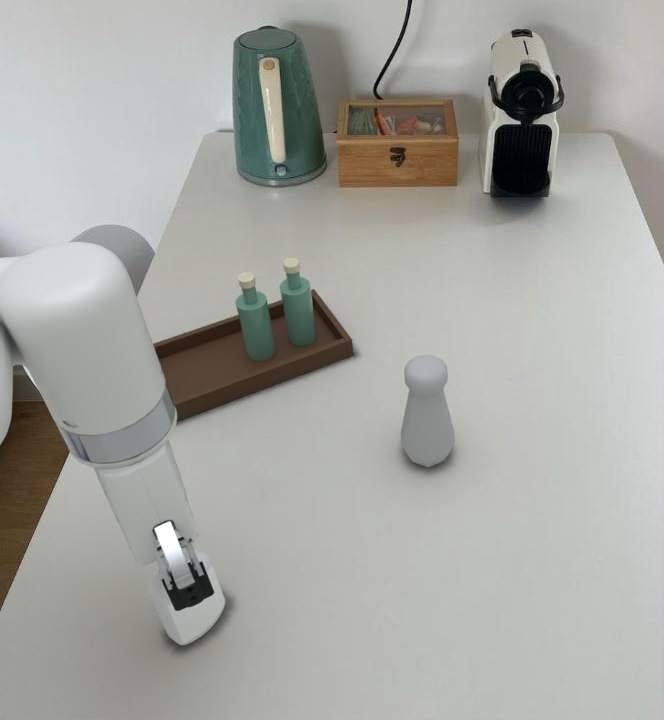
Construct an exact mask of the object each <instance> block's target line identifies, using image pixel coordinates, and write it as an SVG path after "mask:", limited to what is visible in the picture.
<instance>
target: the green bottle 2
mask: <svg viewBox="0 0 664 720" xmlns="http://www.w3.org/2000/svg"><path fill="white" fill-rule="evenodd" d="M282 266H283V267H282V268H283V271H284V272H285V276H286V279H284V280H282V281H281V283H280V284H279V293H280V298H281V299H280V300H282V304H283V310H284V316H285V322H286V327H287V333H288V339H289V341H290V342H291V343H292V344H294V345H298V346H304V345H308V344H310V343H312V342H314V341H315V339H316V338H317V330H316V323H315V316H314V309H313V302H312V295H311V290H312V289H311V282H310V281H309V280H308V279H307V278H306V277H303V276H301V273H300V271H301V263H300V260H299V259H298V258H297V257H288V258H286V259H284V260H283V261H282Z"/></svg>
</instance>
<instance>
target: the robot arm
mask: <svg viewBox="0 0 664 720" xmlns="http://www.w3.org/2000/svg"><path fill="white" fill-rule="evenodd" d="M153 344H154V343H153V339H152V337H151V334H150V331H149V328H148V325H147V322H146V320H145V317H144V313H143V310H142V308H141V305H140V303H139V300H138V297H137V294H136V290H135V288H134V286H133V282H132V280H131V278H130V275H129V272H128V270H127V268H126V265H124V263H123V261H122V260H121V259H120V258H119V257H118V256H117V255H116V254H115V253H114V252H113V251H111V250H109V249H108V248H106V247H104V246H102V245H99V244H96V243H92V242H91V243H90V242H87V241H86V242H84V241H65V242H60V243H59V242H58V243H54V244H50V245H46V246H43V247H40V248H38V249H35V250H34V251H32V252H30V253H28V254H26V255H18V256H5V257H3V256H2V257H0V446H1V445H2V443H3V442H4V440H5V438H6V437H7V434H8V431H9V428H10V425H11V421H12V416H13V415H12V414H13V393H14V392H13V391H14V367H15V366H22V367H24V368H26V370H28V372H29V374H30V376H31V378H32V379H33V382H34V383H35V386H36V388H37V390H38V391H39V393H40V395H41V397H42V399H43V401H44V403H45V406H46V408H47V409H48V412H49V413H50V416H51V418H52V419H53V421H54V423H55V425H56V427H57V429H58V431H59V433H60V435H61V437H62V439H63V442H64V443H65V446H66V447H67V449H68V451H69V452H70V454H71V456H72V457H73V458H74V459H75V460H76V461H78V462H79V463H80V464H82V465H84V466H87V467H90V468H93V469H94V472H95V474H96V477H97V480H98V482H99V484H100V487H101V489H102V491H103V493H104V496H105V498H106V500H107V502H108V505H109V506H110V509H111V511H112V514H113V515H114V518H115V521H116V523H117V524H118V526H119V528H120V531H121V533H122V535H123V537H124V539H125V542H126V544H127V546H128V549H129V551H130V553H131V556H132V558H133V560H134V563H135V564H136V565H138V566H141V567H145V566H147V565H150V564H153V563H154V562H155V561H156V563H157V566H158V568H159V570H160V571H161V573H162V576H163V578H164V579H162V583H163V585H164V588H165V590H166V592H167V594H168V596H169V598H170V600H171V603H172V605H173V607H174V609H175V610H176V611H180V610H182V609H185V608H187V607H193V606H195V605H197V604H199V603H201V602H202V601H203V600H204V599H206V598H208V597H210V596H212V595H213V594H214V590H213V587H212V585H211V582H210V580H209V577H208V574H207V572H206V569H205V567H204V564H203V562H199V561H198V558H197V556H196V553H195V551H194V547H193V546H194V544H195V543H196V541H197V539H198V537H199V535H198V534H199V533H198V530H197V526H196V522H195V519H194V515H193V512H192V507H191V504H190V501H189V498H188V494H187V490H186V488H185V487H186V486H185V484H184V481H183V478H182V475H181V473H180V472H181V471H180V469H179V466H178V462H177V460H176V457H175V455H174V452H173V448H172V446H171V442H170V438H171V437H172V435H173V434H174V431H175V429H176V427H177V424H178V421H177V411H176V408H175V405H174V402H173V399H172V396H171V394H170V391H169V388H168V385H167V382H166V379H165V377H164V374H163V371H162V368H161V365H160V362H159V360H158V357H157V354H156V351H155V348H154V345H153ZM176 532H177V533H178V535H179V536H180V537H178V536H177V534H176ZM159 544H160V546H159ZM184 547H185V548H186V550H187V553H188V555H189V558H190V560H191V562H189V563H187V561H186V559H185V556H184V554H183V551H182V548H184ZM163 556H165V557H166V560H167V563H168V565H169V568H170V570H171V571H170V572H169V570H168V567H167V565H166V562H165V560H164V557H163ZM191 563H192V564H191Z"/></svg>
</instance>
